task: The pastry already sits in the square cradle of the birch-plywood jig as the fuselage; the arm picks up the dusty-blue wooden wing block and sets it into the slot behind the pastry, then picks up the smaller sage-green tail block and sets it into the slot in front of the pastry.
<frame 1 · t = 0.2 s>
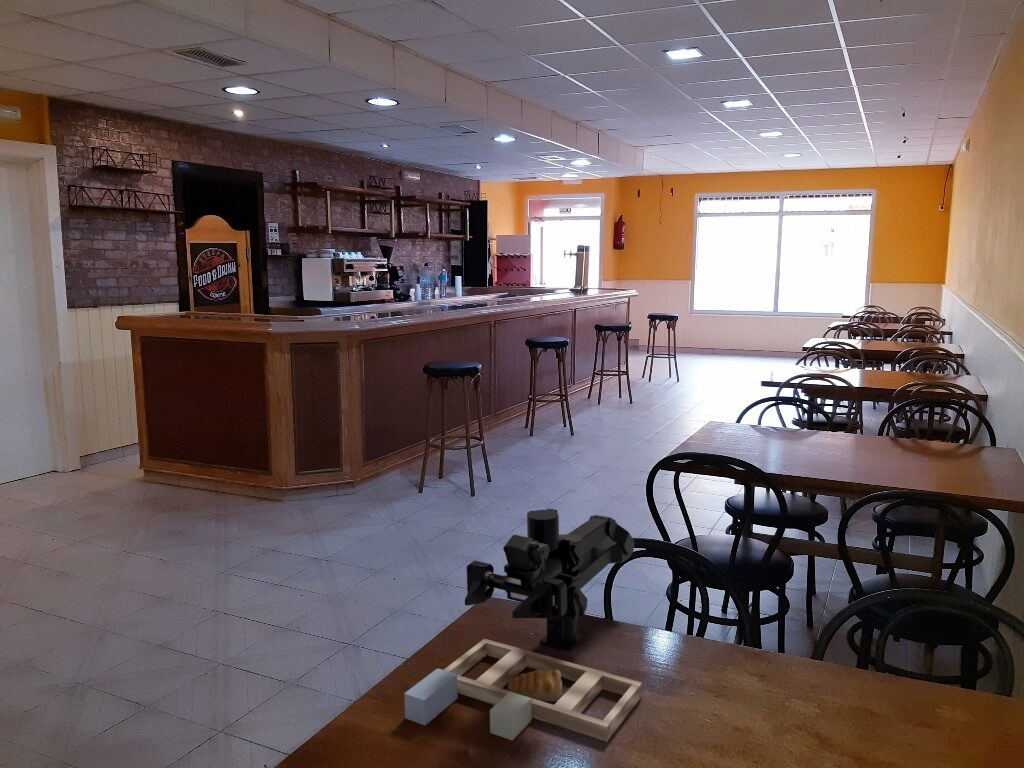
hand: (488, 608, 127), 17 cm above the table, tool horizontal, fingers open, 9 cm apart
wing block: (431, 709, 129), on the table
jig: (539, 691, 133), on the table
tail block: (511, 727, 123), on the table
pastry: (539, 694, 133), on the table
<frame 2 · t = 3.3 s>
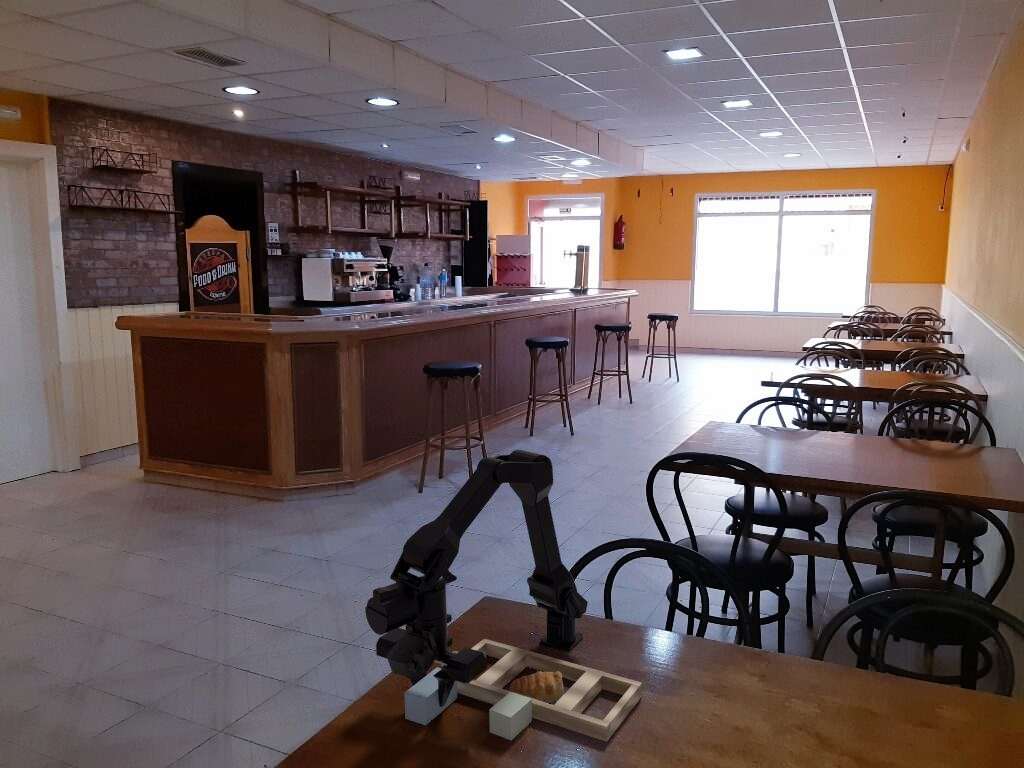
hand: (431, 702, 129), 1 cm above the table, tool pointing down, fingers closed on wing block, 4 cm apart
wing block: (431, 708, 129), on the table, touching gripper
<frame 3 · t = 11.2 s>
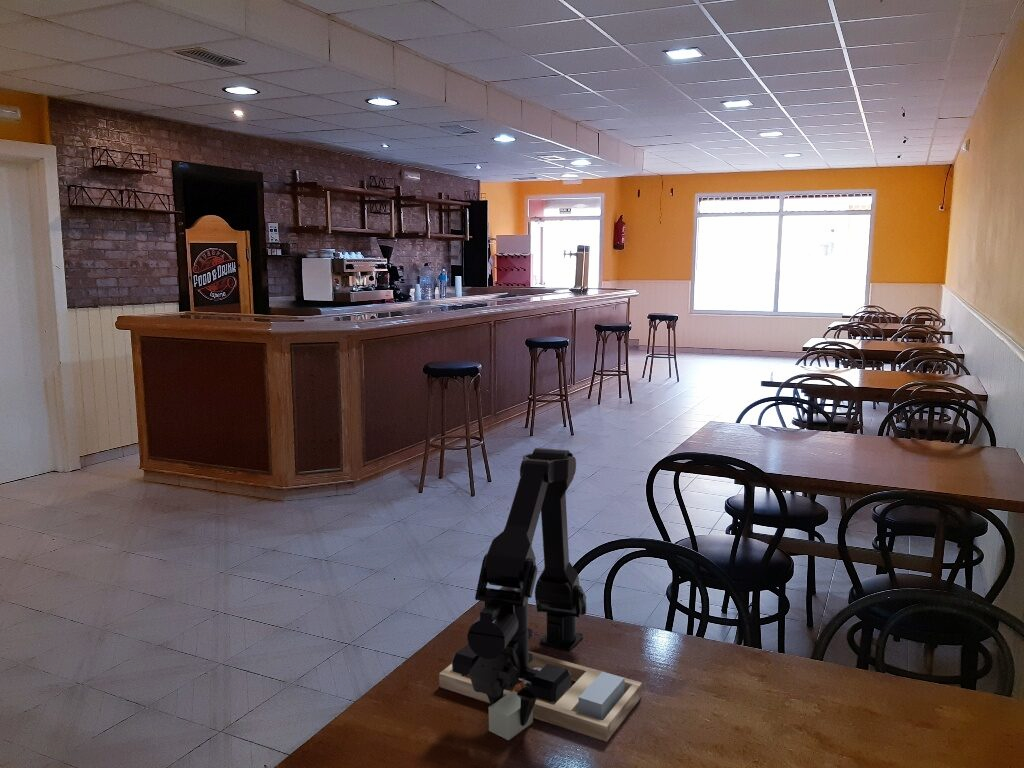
hand: (511, 720, 123), 1 cm above the table, tool pointing down, fingers closed on tail block, 4 cm apart
wing block: (601, 712, 127), on the table
tail block: (511, 726, 123), on the table, touching gripper
pastry: (542, 701, 131), on the table
when the fingers open (4 cm above the table, at t = 14.9 s): tail block drops 3 cm, on the table.
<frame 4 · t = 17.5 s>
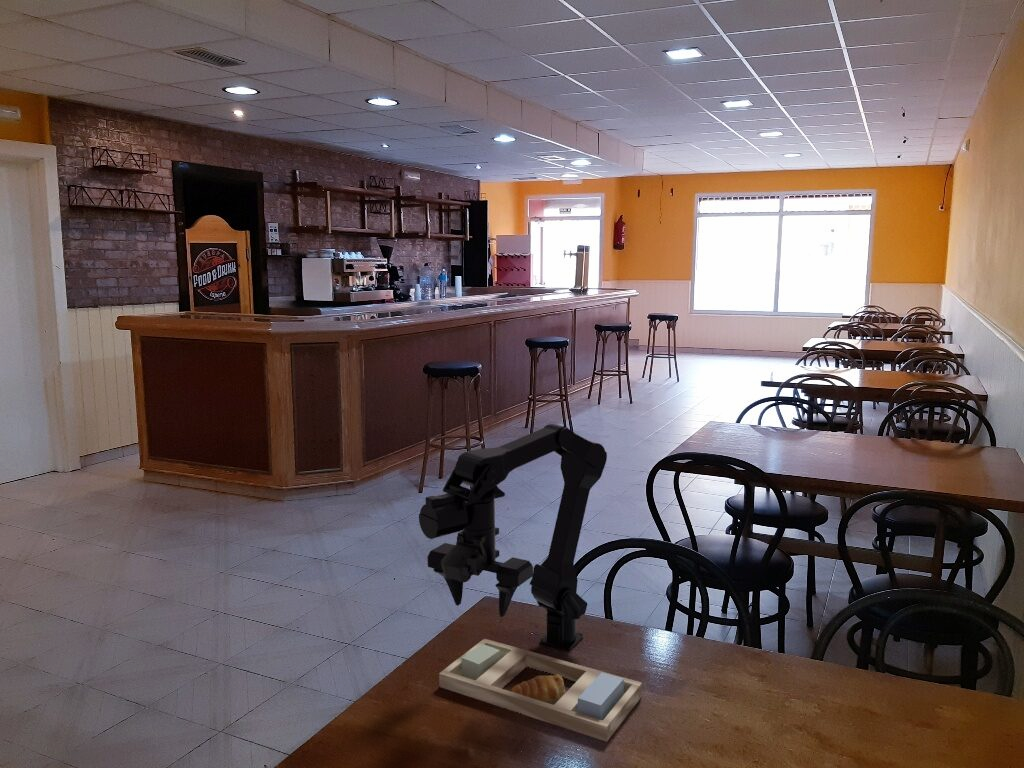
hand: (480, 610, 137), 12 cm above the table, tool pointing down, fingers open, 9 cm apart
tail block: (481, 674, 139), on the table
everything else where it was.
at the end: wing block inside the target area (0.5 cm from its centre), on the table; tail block inside the target area (0.0 cm from its centre), on the table; tail block tilted 0° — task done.
